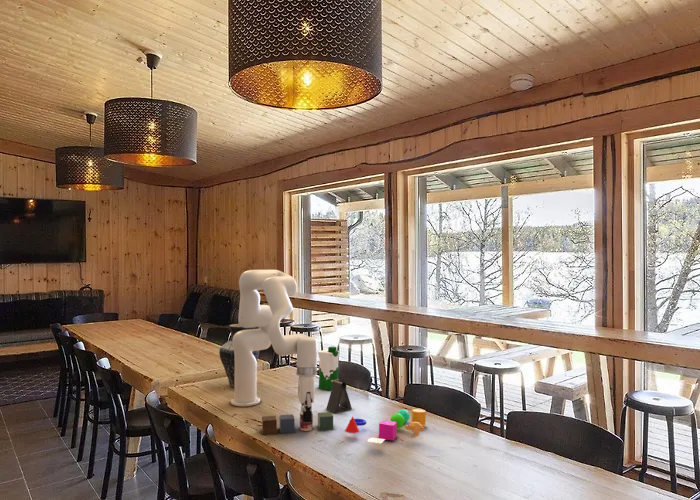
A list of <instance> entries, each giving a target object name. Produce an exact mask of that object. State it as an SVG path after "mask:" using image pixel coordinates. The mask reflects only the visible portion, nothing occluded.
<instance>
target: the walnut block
mask: <svg viewBox="0 0 700 500" xmlns="http://www.w3.org/2000/svg"><path fill="white" fill-rule="evenodd" d="M277 427H278V420H277V416H276V415H264V416H261V433H262V435H263V436H265V435H275V434H278V433H277V432H278V431H277V429H278V428H277Z"/></svg>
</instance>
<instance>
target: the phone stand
mask: <svg viewBox="0 0 700 500" xmlns="http://www.w3.org/2000/svg"><path fill="white" fill-rule="evenodd" d="M325 409H326V410H327V412H331V413H332V414H339V413H343V412H347V411H351V410H352V409H353V408H352V404H351V402H350V397H349V394H348V390H347V383H346V382H345V381H342V380H339V379H338V380H337V381H336V380H333V382H332V390H330V394H329V398H328V401H327V404H326V408H325Z"/></svg>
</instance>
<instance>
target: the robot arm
mask: <svg viewBox="0 0 700 500" xmlns="http://www.w3.org/2000/svg"><path fill="white" fill-rule="evenodd" d="M238 287H239V288H238V289H239V298H240V299H239V306H238V308H239V309H238V316H237V317H238V318H237V319H238V324H239V325H240V326H241V327H244V328H249V330H242V331H239V332H237V333H236V334H235V335H234V336H233V348H234V356H235V387H233V389H234V394H233V395H234V396H233V398H232V399H230V404H231V405H232V406H234V407H242V408H243V407H252V406H256V405H259V404H260V403H261V398H260V397H259V396H258V394H257V393H258V391H257V387H258V360H257V361H256V358H255V357H254V355H253V354H252V351H258V350H260V351H264V350H267V349H269V348H270V347H272V349H273V351H274V352H275V353H276V355H278V356H281V357H284V356H285V357H286V356H291V355H296V376H298V381H297V382H298V383H297V399H298V401H299V403H300V405H301V406H303V405H304V411H303V422H311V421H312V412H313V405H312V404H313V403H314V401H315V376H317V374H318V341H317V338H316V337H314V336H308V335H306V334H305V333H293V334H285V335H283V333H282V331H281V327H280V323H281V321H282V320H283V319H285V318H287V317H288V316H289V315H290V314H291V313H292V312H293V311H294V306H293V304H292V301H291V300H290V297H292V296H295V295H296V293H297V291H298V284H297V281H296V279H295V278H294V277H293V276H291V275H290V274H288V273H285V272H283V271H281V270H278V269H249V270H245V271H244V272H242V273H241V274H240V276H239V280H238ZM260 290H261V291H262V290H263V293H264V296H265V299H266V301H267V304H260V303H261V295H260V293H259V291H260ZM301 406H300V407H301Z"/></svg>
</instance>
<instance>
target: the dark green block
mask: <svg viewBox="0 0 700 500" xmlns="http://www.w3.org/2000/svg"><path fill="white" fill-rule="evenodd" d="M317 427H318V429H319V431H330V430H334V415H333V412H331V411H326V412H325V411H324V412H317Z"/></svg>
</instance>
